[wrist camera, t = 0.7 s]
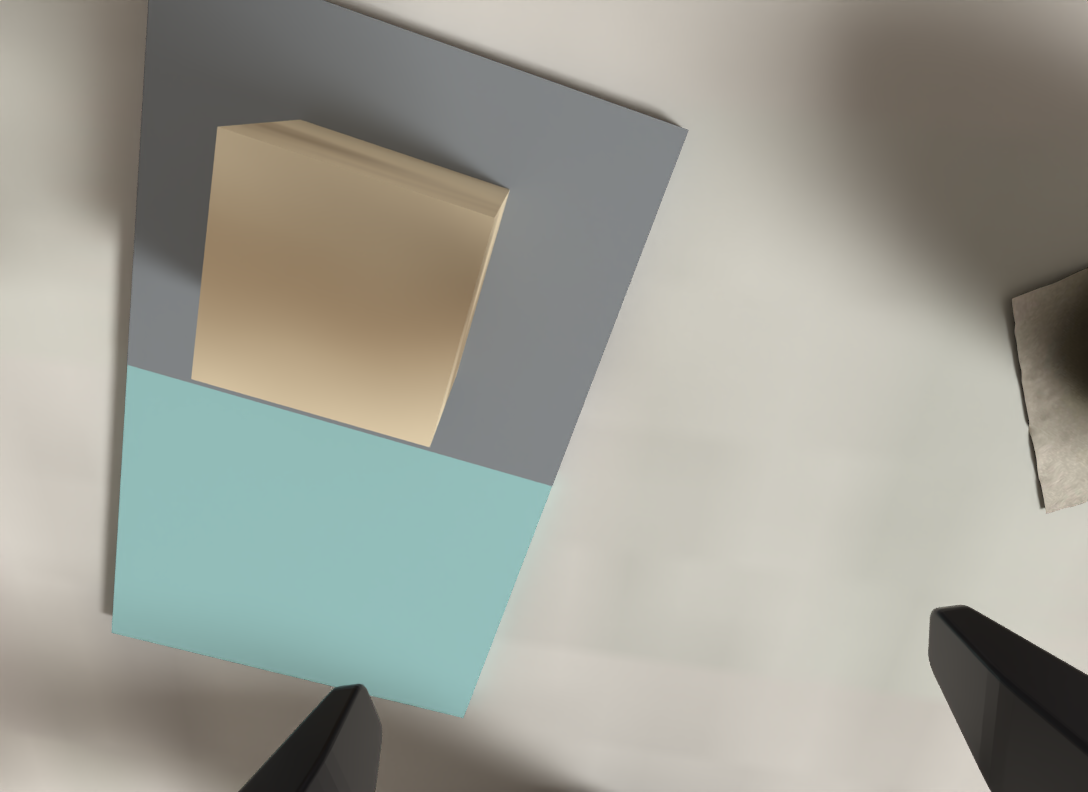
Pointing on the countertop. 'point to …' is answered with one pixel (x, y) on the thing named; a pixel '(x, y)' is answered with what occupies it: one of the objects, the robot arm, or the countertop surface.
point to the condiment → (1056, 384)
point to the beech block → (340, 275)
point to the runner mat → (342, 449)
